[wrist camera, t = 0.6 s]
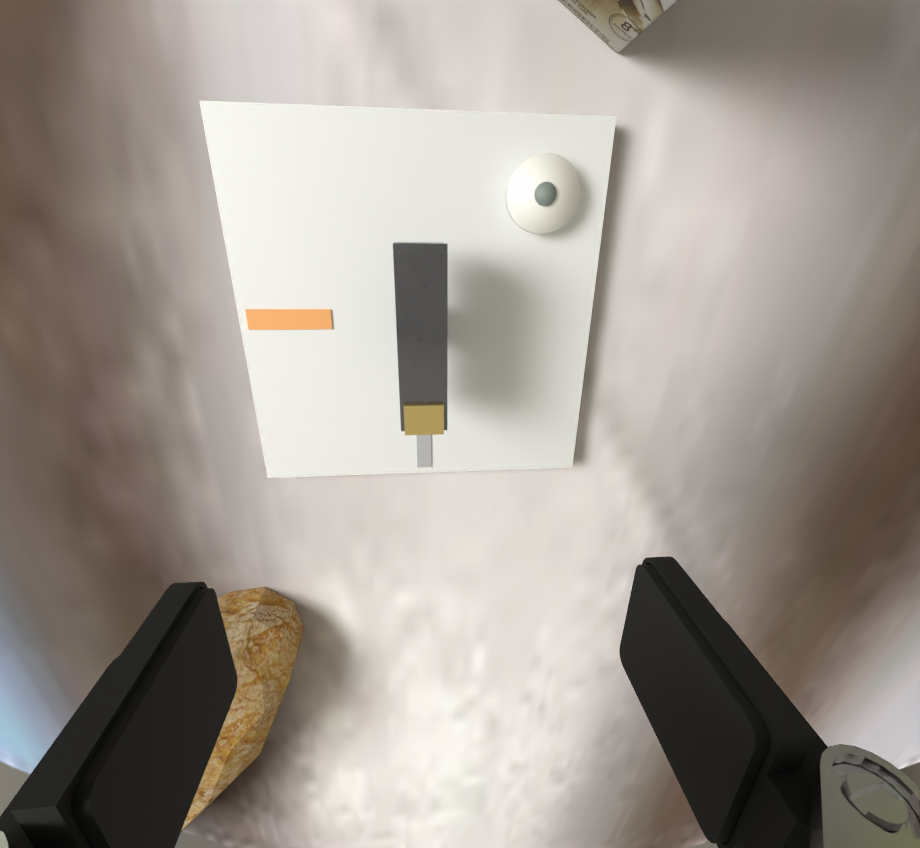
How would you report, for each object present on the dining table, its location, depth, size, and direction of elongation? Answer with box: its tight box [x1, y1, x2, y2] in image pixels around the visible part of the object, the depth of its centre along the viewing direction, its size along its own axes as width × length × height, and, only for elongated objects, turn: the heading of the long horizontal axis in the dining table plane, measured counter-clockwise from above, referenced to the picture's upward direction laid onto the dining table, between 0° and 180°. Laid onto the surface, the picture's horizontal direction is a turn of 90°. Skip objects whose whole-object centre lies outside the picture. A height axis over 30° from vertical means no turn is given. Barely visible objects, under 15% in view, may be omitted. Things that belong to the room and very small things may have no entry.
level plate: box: [200, 101, 616, 478], centre depth 28 cm, size 22×22×3 cm
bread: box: [180, 587, 304, 833], centre depth 37 cm, size 36×11×10 cm, turn 139°
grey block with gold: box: [393, 242, 448, 435], centre depth 24 cm, size 9×2×7 cm, turn 0°
